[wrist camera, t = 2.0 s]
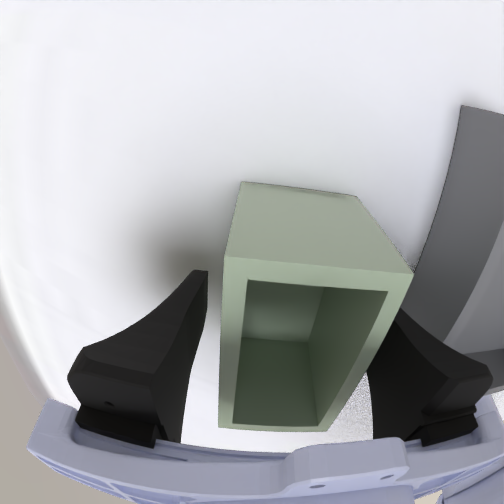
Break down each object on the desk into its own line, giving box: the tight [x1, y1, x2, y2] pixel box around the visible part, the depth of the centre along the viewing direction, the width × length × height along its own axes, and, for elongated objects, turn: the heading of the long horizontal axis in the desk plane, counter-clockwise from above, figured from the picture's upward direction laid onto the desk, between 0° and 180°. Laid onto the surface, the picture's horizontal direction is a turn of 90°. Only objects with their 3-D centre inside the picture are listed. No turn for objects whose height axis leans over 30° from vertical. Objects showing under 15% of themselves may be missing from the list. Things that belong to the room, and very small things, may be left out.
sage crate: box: [218, 182, 414, 432], centre depth 12 cm, size 9×5×6 cm, turn 175°
